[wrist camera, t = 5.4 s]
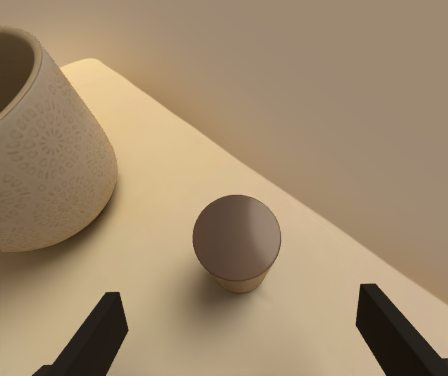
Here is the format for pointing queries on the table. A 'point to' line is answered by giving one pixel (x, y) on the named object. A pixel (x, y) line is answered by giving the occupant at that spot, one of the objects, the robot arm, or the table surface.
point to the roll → (237, 241)
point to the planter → (46, 150)
